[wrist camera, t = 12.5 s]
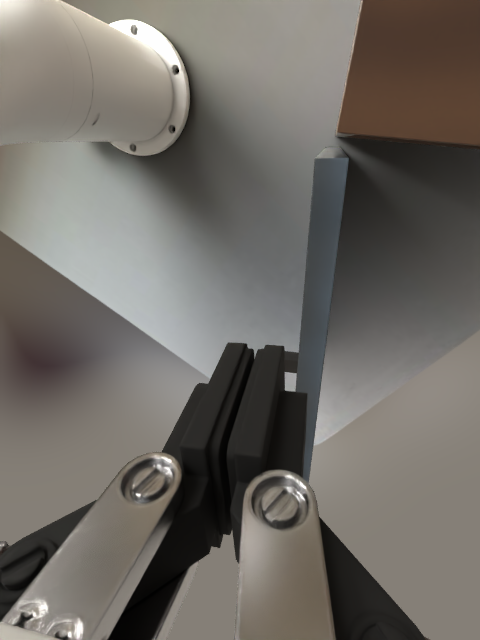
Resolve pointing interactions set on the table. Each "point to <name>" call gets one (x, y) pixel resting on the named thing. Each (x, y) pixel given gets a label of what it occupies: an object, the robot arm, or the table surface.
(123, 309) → the table surface
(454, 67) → the cupboard
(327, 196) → the door
